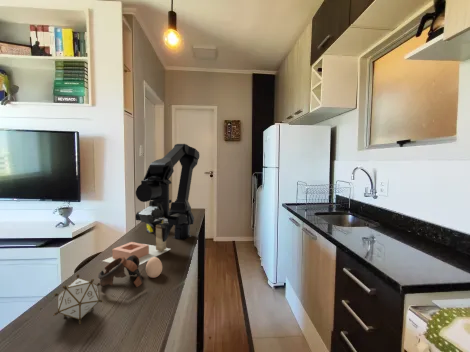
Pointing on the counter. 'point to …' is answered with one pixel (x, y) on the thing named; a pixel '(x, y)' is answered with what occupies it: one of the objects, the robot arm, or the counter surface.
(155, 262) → the egg
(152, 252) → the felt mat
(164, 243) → the dowel
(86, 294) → the game die
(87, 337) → the counter surface
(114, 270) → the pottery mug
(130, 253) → the pink square ring
